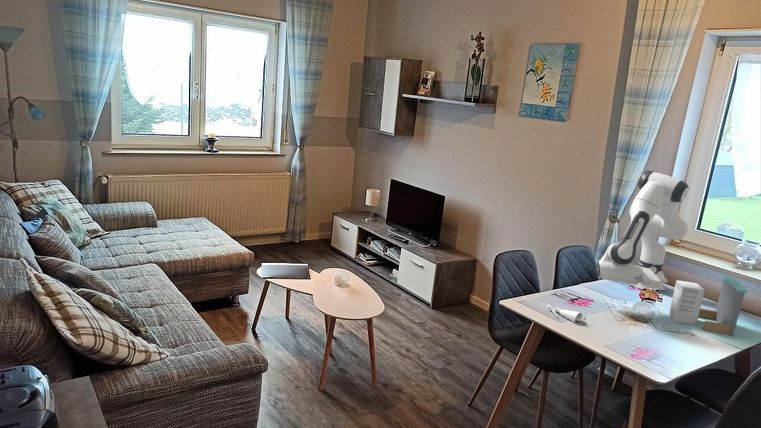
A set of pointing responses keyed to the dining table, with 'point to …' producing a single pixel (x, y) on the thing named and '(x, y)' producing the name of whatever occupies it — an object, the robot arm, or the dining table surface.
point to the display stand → (725, 308)
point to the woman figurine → (567, 313)
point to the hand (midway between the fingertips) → (666, 280)
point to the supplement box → (686, 302)
